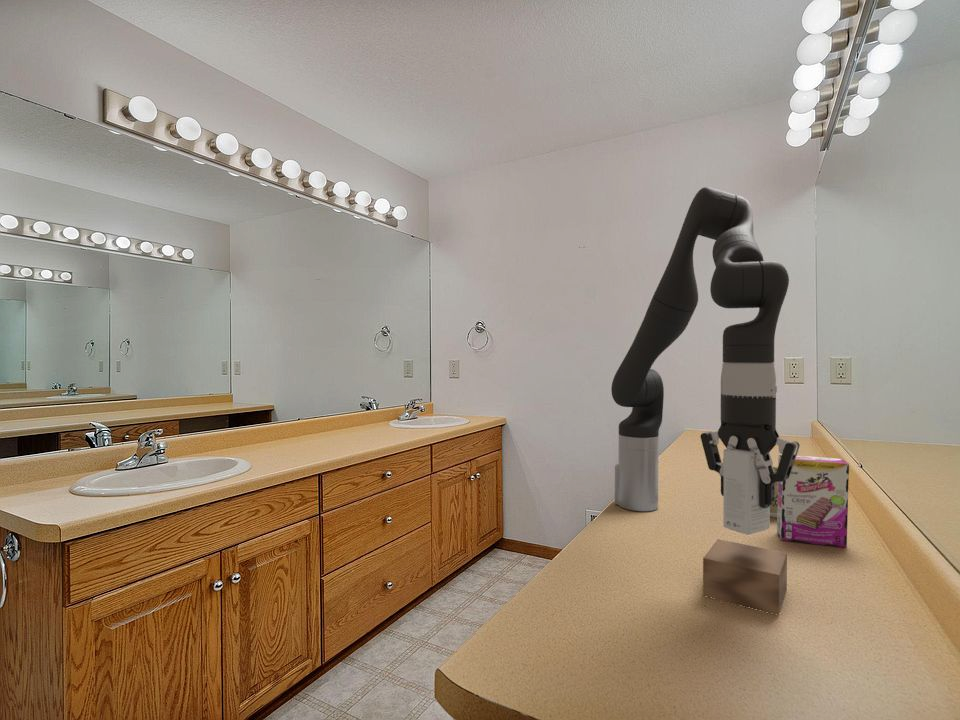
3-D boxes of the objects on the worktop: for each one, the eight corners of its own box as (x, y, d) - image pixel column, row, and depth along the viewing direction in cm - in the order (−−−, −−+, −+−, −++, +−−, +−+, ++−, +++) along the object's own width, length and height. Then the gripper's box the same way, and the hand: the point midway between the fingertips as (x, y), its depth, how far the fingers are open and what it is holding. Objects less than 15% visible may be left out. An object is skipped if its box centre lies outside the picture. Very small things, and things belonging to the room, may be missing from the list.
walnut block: (702, 597, 77) (703, 558, 77) (717, 574, 86) (717, 539, 85) (778, 617, 72) (779, 575, 71) (786, 591, 80) (787, 552, 80)
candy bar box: (781, 541, 100) (782, 458, 100) (776, 533, 105) (776, 453, 105) (849, 549, 96) (850, 462, 96) (840, 540, 101) (841, 457, 101)
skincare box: (750, 536, 75) (750, 453, 75) (721, 527, 79) (721, 449, 79) (771, 528, 78) (772, 449, 78) (742, 520, 82) (743, 445, 82)
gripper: (690, 391, 81) (690, 498, 81) (792, 396, 70) (791, 519, 71) (711, 389, 86) (710, 490, 86) (808, 393, 76) (807, 508, 76)
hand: (747, 502), depth 78 cm, fingers closed on skincare box, 4 cm apart
